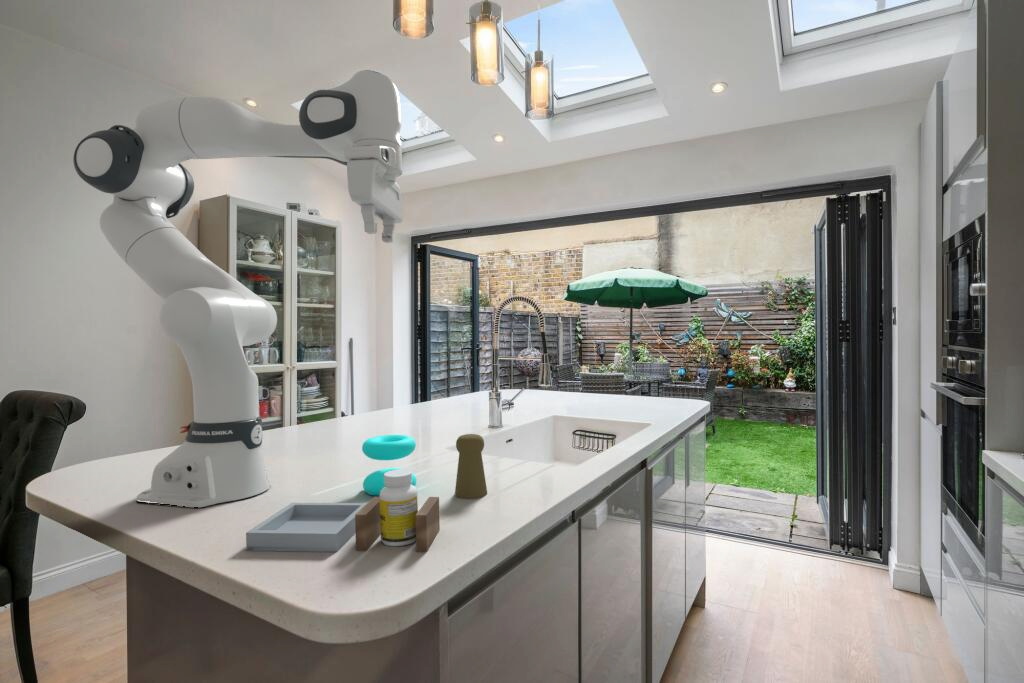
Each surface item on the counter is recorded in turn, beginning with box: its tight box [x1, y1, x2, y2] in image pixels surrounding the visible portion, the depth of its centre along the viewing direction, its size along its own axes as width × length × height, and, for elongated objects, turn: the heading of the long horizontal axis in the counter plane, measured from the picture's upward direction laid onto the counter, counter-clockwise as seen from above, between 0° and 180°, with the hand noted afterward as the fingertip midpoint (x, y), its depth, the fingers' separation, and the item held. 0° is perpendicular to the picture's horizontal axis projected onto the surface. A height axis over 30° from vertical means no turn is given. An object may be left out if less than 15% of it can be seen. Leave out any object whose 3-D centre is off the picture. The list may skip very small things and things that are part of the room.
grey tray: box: [245, 502, 368, 553], centre depth 79 cm, size 13×13×2 cm
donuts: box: [361, 434, 417, 497], centre depth 101 cm, size 10×10×10 cm
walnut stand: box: [355, 496, 441, 553], centre depth 76 cm, size 10×8×5 cm
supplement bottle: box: [379, 468, 419, 547], centre depth 76 cm, size 5×5×10 cm
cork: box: [454, 433, 488, 500], centre depth 98 cm, size 6×6×11 cm
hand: (379, 237), depth 98 cm, fingers open, 8 cm apart
